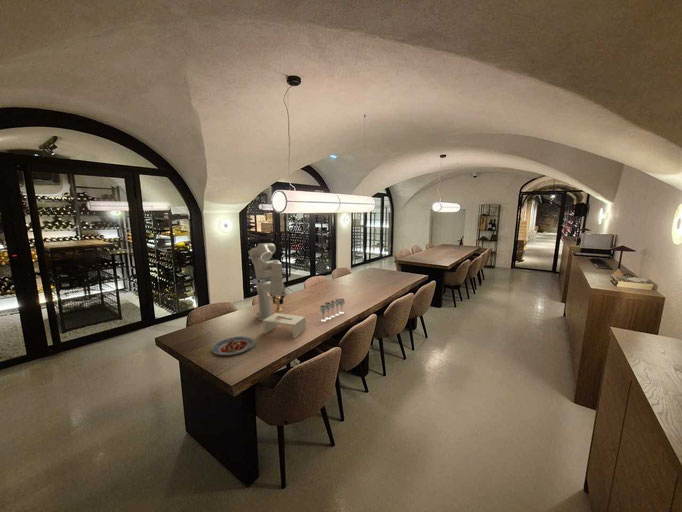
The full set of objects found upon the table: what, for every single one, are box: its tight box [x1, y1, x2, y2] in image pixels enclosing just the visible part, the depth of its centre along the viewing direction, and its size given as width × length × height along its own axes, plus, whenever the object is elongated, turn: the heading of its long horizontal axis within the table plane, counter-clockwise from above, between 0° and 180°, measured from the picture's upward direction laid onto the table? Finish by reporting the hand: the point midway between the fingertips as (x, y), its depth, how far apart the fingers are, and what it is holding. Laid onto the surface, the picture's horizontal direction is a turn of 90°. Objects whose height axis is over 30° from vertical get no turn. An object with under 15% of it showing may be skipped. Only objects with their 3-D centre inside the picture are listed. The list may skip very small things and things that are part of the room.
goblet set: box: [319, 298, 346, 322], centre depth 238 cm, size 28×6×13 cm, turn 139°
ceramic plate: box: [211, 335, 255, 356], centre depth 186 cm, size 26×26×3 cm
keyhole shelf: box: [262, 312, 307, 339], centre depth 209 cm, size 26×16×10 cm, turn 69°
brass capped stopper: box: [274, 296, 283, 314], centre depth 206 cm, size 5×5×10 cm
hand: (278, 303), depth 206 cm, fingers closed on brass capped stopper, 5 cm apart
